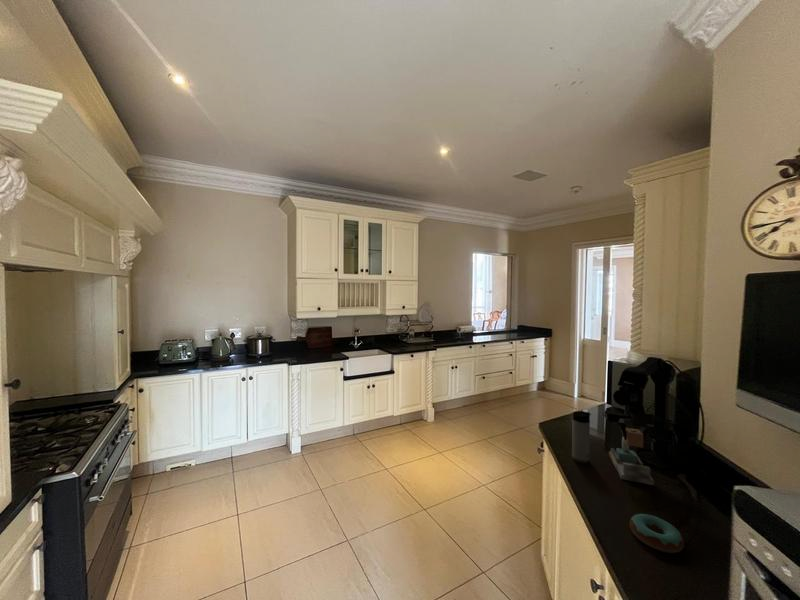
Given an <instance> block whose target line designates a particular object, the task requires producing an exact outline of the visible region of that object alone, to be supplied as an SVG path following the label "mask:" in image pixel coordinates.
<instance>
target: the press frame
mask: <svg viewBox="0 0 800 600" xmlns="http://www.w3.org/2000/svg"><path fill="white" fill-rule="evenodd" d="M635 454H636V455H637V464H636V463H630V462H625V461H620V459H619V457H618V455H617V454H616V449H614V447H610V450H609V451H608V456H609V458H610V460H611V462H612V464H613V465H614V467H615V469H616V471H617V473H618V475H619V477H620V479H621V480H625V481H630V482H635V483H640V484H645V485H650V486H655V480H654V479H653V477H652V476H651V468H650V466H647V465H644V464H643V461H642V460H641V459H640V457H639V456H638V454H637V453H636V452H635Z"/></svg>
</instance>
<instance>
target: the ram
mask: <svg viewBox="0 0 800 600" xmlns="http://www.w3.org/2000/svg"><path fill="white" fill-rule="evenodd" d="M615 452H616V454H617V455H618V457H619V459H620V461H625V462H630V463H636V464H637V456H638V454H637V453H636V451H634V450H630V445H627V444H626V442H625V441H624V437H623V436H622V437H621V448H620V447H616V449H615ZM635 453H636V454H637V455H636V454H635Z"/></svg>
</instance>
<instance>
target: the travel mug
mask: <svg viewBox="0 0 800 600" xmlns="http://www.w3.org/2000/svg"><path fill="white" fill-rule="evenodd" d="M591 415H592V414H591V413H590V412H589V411H583V410H578V411H577V410H576V411H574V412H572V433H571V434H572V435H571V436H572V437H571V439H572V440H571V441H572V442H571V444H572V445H571V459H572V460H574V461H575V462H578V463H579V464H581V463H582V464H588V463H589V462H590V434H591V433H590V432H591V431H590V430H591V429H590V427H591V426H590V425H591V423H590V422H591V420H590V417H591Z"/></svg>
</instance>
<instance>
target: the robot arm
mask: <svg viewBox="0 0 800 600" xmlns="http://www.w3.org/2000/svg"><path fill="white" fill-rule="evenodd" d="M676 373H677V370H676V369H675V367H674V366H673V365H672V364H670V363H669V362H667V361H665V360H664V358H660V357H654V356H648V357H646V360H644V361H642V362H641V363H640V364H639V365H637V366H628V367H627V368H626V367H625V368H624V369H623V370H622V372H621V375H620V377H619V380H618V383H617V386H618V390H615V391H614V392H613V394H612V397H613V400H614V402H616V404H617V405H619V406H622V407H624V412H623V413H624V414H618V412H617V411H616V410H615V411H614V410H604V415H603V417H604V418H605V420H606V421H607V422H611V423H615V424H616V425H618V427H619V430H620V432H621V434H622V437H624V439H625V440H626V428H627V427H626V426H627V424H626V423H625V421H626V422H628V421H629V422H630V423H631V425H632V426H633V427H635V428H636V427H640V429H639V430H640V431H641V432H642V434H643V435H644V437H643V442H644V441H645V439H646V437H647V435H648V438H650V439H652V440H651V441H650V450H651V451H652V453H653V454H654V455H655V456H656V457H662V458H668V459H675V458H676V457H675V456H674V445H675V446H677V445H678V441H679V440H678V436H677V434H676V432H675V431H674V424H673V423H672V422H671V421H670V419H669V411H670V410H669V403H670V402H669V401H670V400H669V397H670V385H671V384H672V383H673V382H674V380H675V377H676V375H677V374H676ZM649 378H650V379H651V381H652V383H653V384H654V408H653V409H654V414H651V413H646V412H645V407H644V390H645V389H646V386H647V385H648V382H649V380H650V379H649Z"/></svg>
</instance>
